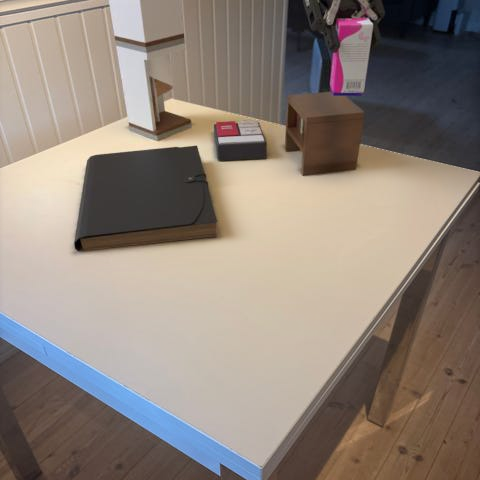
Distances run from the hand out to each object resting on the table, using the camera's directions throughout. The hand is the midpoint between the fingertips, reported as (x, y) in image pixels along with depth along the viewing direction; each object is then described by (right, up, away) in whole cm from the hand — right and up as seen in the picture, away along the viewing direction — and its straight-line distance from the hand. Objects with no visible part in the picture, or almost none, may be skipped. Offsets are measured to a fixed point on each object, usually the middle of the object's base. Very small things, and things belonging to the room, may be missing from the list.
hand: (356, 47), depth 85 cm
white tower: (-40, +1, +39) cm, 56 cm away
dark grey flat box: (-20, -7, +30) cm, 37 cm away
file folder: (-38, -25, +10) cm, 47 cm away
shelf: (-3, -12, +24) cm, 27 cm away
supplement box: (0, -5, +6) cm, 8 cm away
